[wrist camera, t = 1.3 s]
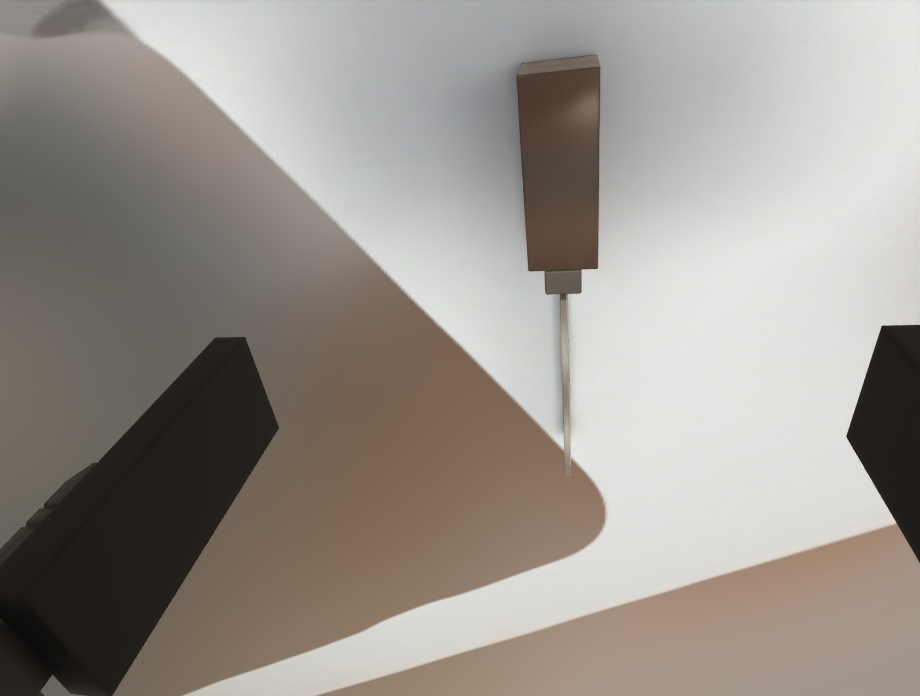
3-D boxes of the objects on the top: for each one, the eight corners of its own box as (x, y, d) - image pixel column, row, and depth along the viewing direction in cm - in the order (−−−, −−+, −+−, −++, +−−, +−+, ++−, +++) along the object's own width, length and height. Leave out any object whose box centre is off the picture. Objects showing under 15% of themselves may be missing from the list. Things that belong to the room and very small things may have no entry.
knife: (521, 62, 24) (515, 77, 21) (597, 54, 23) (600, 68, 20) (542, 432, 35) (540, 475, 32) (594, 433, 34) (596, 477, 31)
